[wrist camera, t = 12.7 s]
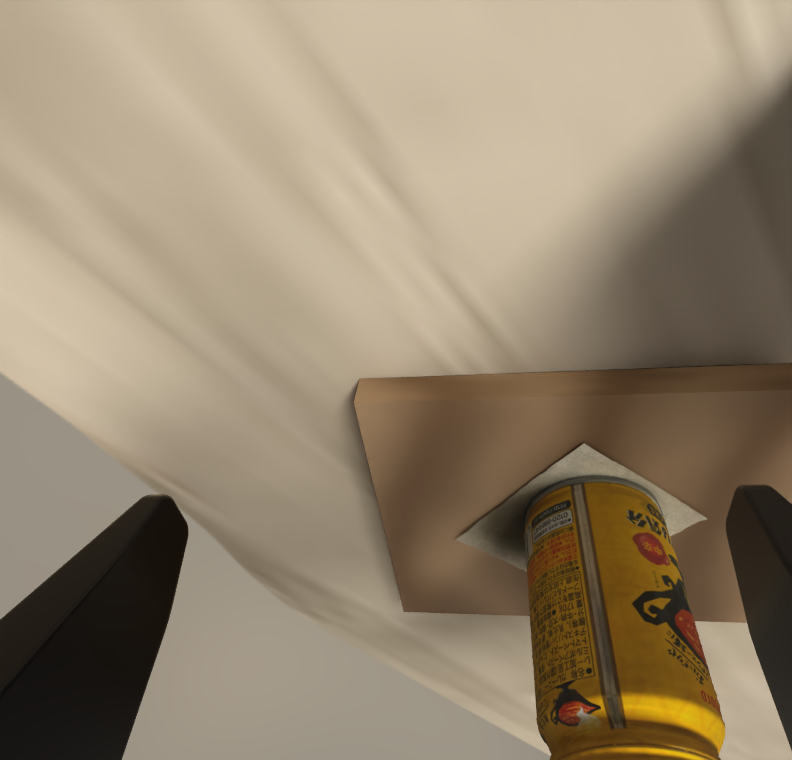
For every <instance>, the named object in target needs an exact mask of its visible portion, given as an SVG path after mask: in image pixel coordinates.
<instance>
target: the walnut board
mask: <svg viewBox="0 0 792 760" xmlns="http://www.w3.org/2000/svg"><path fill="white" fill-rule="evenodd" d="M354 406H355V410H356V414H357V418H358V422H359V427H360V431H361V435H362V439H363V443H364V447H365V452H366V456H367V460H368V464H369V468H370V472H371V477H372V481H373V485H374V489H375V493H376V497H377V502H378V506H379V510H380V514H381V518H382V522H383V527H384V531H385V535H386V539H387V543H388V547H389V551H390V556H391V560H392V564H393V568H394V572H395V576H396V581H397V585H398V589H399V593H400V597H401V601H402V606H403V610H404V612H429V613H460V614H491V615H522V616H530V611H529V596H528V580H527V572H526V571H525V570H523V569H519V568H517V567H515V566H513V565H511V564H509V563H507V562H506V561H504V560H501V559H499V558H497V557H494V556H492V555H490V554H488V553H486V552H484V551H482V550H479V549H477V548H475V547H474V546H469V545H466V544H464V543H462V542H460V541H457V540H456V539H457V538H459V537H460V536H461V535H463V534H464V533H466V532H468V531H469V530H470V529H471V528H472V527H473V526H474V525H475V524H476V523H477V522H479V521H480V520H481V519H482V518H484V517H485V516H487V515H489V514H490V513H491V512H492V511H494V510H495V509H497V508H499V507H501V506H502V505H503V504H504V503H505V502H506V501H507V500H508V499H509V498H510V497H511V496H514V495H515V494H516V493H517V492H518V491H519V490H520V489H521V488H523V487H524V486H527V485H528V483H529V482H530V481H532V480H533V479H535V478H536V477H537V476H539V475H540V474H542V473H544V472H546V471H547V470H548V469H549V468H550V467H551V466H552V465H554V464H555V463H557V462H558V461H560V460H561V459H563V458H564V457H566V456H567V455H568V454H570V453H571V452H573V451H574V450H576V449H577V448H579V447H580V446H581V445H582V444H586V445H588V446H589V447H591V448H592V449H594V450H595V451H597V452H599V453H600V454H602V455H604V456H605V457H607V458H609V459H610V460H611V461H615V462H617V463H618V464H620V465H622V466H624V467H626V468H627V469H629V470H631V471H632V472H634V473H635V474H637V475H639V476H641V477H642V478H644V479H645V480H647V481H649V482H651V483H653V484H654V485H656V486H657V487H659V488H660V489H662V490H663V491H665V492H667V493H669V494H670V495H672V496H673V497H675V498H677V499H678V500H679V501H680V502H682V503H684V504H686V505H687V506H689V507H690V508H691V509H693V510H695V511H696V512H698V513H699V514H701V515H703V516H704V517H706V518H707V520H702V521H699V522H697V523H695V524H693V525H691V526H689V527H687V528H685V529H684V530H683V531H681V532H679V533H677V534H674V535H672V536H670V537H671V541H672V546H673V549H674V551H675V554H676V557H677V560H678V566H679V570H680V571H681V573H682V576H683V581H684V585H685V589H686V592H687V598H688V601H689V605H690V609H691V612H692V615H693V617H694V621H710V622H742V623H746V621H747V620H746V616H745V612H744V607H743V603H742V599H741V595H740V590H739V586H738V582H737V578H736V573H735V569H734V565H733V561H732V556H731V552H730V548H729V544H728V539H727V535H726V518H727V515H728V512H729V508H730V505H731V502H732V499H733V495H734V492H735V490H736V488H737V487H738V486H740V485H768V486H771V487H773V488H774V489H775V490H777V491H778V492H779V493H780V494H781V495H782V496H783V497H785V498H786V499H787V500H788V501H789V502H790V503H792V363H790V364H762V365H735V366H707V367H679V368H652V369H624V370H596V371H568V372H541V373H513V374H485V375H457V376H430V377H402V378H374V379H359V383H358V387H357V391H356V395H355V400H354Z"/></svg>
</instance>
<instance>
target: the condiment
mask: <svg viewBox="0 0 792 760" xmlns="http://www.w3.org/2000/svg"><path fill="white" fill-rule="evenodd" d="M702 520H707V518H706V517H704V516H703V515H701V514H699V513H698V512H696V511H695V510H693V509H691V508H690V507H689V506H687V505H686V504H684V503H682V502H680V501H679V500H678V499H677V498H675V497H673V496H672V495H670V494H669V493H667V492H665V491H663V490H662V489H660V488H659V487H657V486H656V485H654V484H653V483H651V482H649V481H647V480H645V479H644V478H642V477H641V476H639V475H637V474H635V473H634V472H632V471H631V470H629V469H627V468H626V467H624V466H622V465H620V464H618V463H617V462H615V461H611V460H610V459H609V458H607V457H605V456H604V455H602V454H600V453H599V452H597V451H595V450H594V449H592V448H591V447H589V446H588V445H586V444H582V445H581V446H580V447H579V448H577V449H576V450H574V451H573V452H571V453H570V454H568V455H567V456H566V457H564V458H563V459H561V460H560V461H558V462H557V463H555V464H554V465H552V466H551V467H550V468H549V469H548V470H547V471H546V472H544V473H542V474H540V475H539V476H537V477H536V478H535V479H533V480H532V481H530V482H529V483H528V485H527V486H524V487H523V488H521V489H520V490H519V491H518V492H517V493H516V494H515V495H514V496H511V497H510V498H509V499H508V500H507V501H506V502H505V503H504V504H503V505H502V506H501V507H499V508H497V509H495V510H494V511H492V512H491V513H490V514H489V515H487V516H485V517H484V518H482V519H481V520H480V521H479V522H477V523H476V524H475V525H474V526H473V527H472V528H471V529H470V530H469V531H468V532H466V533H464V534H463V535H461V536H460V537H459V538H457V539H456V540H457V541H460V542H462V543H464V544H466V545H469V546H474V547H475V548H477V549H479V550H482V551H484V552H486V553H488V554H490V555H492V556H494V557H497V558H499V559H501V560H504V561H506V562H507V563H509V564H511V565H513V566H515V567H517V568H519V569H523V570H525V571H526V572H527V580H528V596H529V611H530V625H531V640H532V652H533V655H532V658H533V666H534V680H535V696H536V710H537V725H538V729H539V732H540V735H541V737H542V738H543V740H544V742H545V743H546V744H547V745H548V747H549V750H550V752H551V754H552V755H551V757H550V760H721V759H720V758H719V757H718V756H719V752H720V749H721V747H722V744H723V741H724V737H725V724H724V722H723V719H722V715H721V712H720V705H719V702H718V700H717V694H716V692H715V690H714V687H713V684H712V680H711V677H710V674H709V670H708V666H707V664H706V659H705V656H704V653H703V649H702V645H701V643H700V640H699V635H698V632H697V629H696V625H695V621H694V617H693V615H692V612H691V609H690V605H689V601H688V598H687V592H686V589H685V585H684V581H683V576H682V573H681V571H680V570H679V566H678V560H677V557H676V554H675V551H674V549H673V546H672V541H671V537H670V536H672V535H674V534H677V533H679V532H681V531H683V530H684V529H685V528H687V527H689V526H691V525H693V524H695V523H697V522H699V521H702Z"/></svg>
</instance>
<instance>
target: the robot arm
mask: <svg viewBox="0 0 792 760" xmlns="http://www.w3.org/2000/svg"><path fill="white" fill-rule="evenodd" d="M726 535H727V539H728V544H729V548H730V552H731V556H732V561H733V565H734V569H735V573H736V578H737V582H738V586H739V590H740V595H741V599H742V603H743V607H744V612H745V616H746V620H747V624H748V628H749V631H750V635H751V638H752V641H753V644H754V647H755V650H756V653H757V656H758V659H759V661H760V664H761V667H762V670H763V672H764V675H765V678H766V681H767V683H768V686H769V689H770V692H771V694H772V697H773V700H774V703H775V706H776V708H777V711H778V714H779V717H780V719H781V722H782V725H783V728H784V730H785V733H786V736H787V739H788V741H789V744H790V747H791V750H792V503H790V502H789V501H788V500H787V499H786V498H785V497H783V496H782V495H781V494H780V493H779V492H778V491H777V490H775V489H774V488H773V487H771V486H768V485H740V486H738V487H737V488H736V490H735V492H734V495H733V499H732V502H731V505H730V508H729V512H728V515H727V518H726ZM187 539H188V525H187V522H186V520H185V519H184V517H183V515H182V514H181V512H180V510H179V509H178V507H177V505H176V504H175V502H174V500H173V499H172V498H171V497H170V496H168V495H147V496H145V497H142V498H141V499H140V500H139V501H137V502H136V503H135V504H134V505H133V506H132V507H130V508H129V509H128V510H127V511H126V512H125V513H123V514H122V515H121V516H120V517H119V518H118V519H116V520H115V521H114V522H113V523H112V524H111V525H110V526H108V527H107V528H106V529H105V530H104V531H103V532H101V533H100V534H99V535H98V536H97V537H96V538H95V539H93V540H92V541H91V542H90V543H89V544H87V545H86V546H85V547H84V548H83V549H82V550H80V551H79V552H78V553H77V554H76V555H75V556H73V557H72V558H71V559H70V560H69V561H68V562H67V563H65V564H64V565H63V566H62V567H61V568H60V569H58V570H57V571H56V572H55V573H54V574H53V575H51V576H50V577H49V578H48V579H47V580H46V581H45V582H43V583H42V584H41V585H40V586H39V587H37V589H35V590H34V591H33V592H32V593H31V594H29V595H28V596H27V597H26V598H25V599H24V600H23V601H21V603H19V604H18V605H17V606H15V607H14V608H13V609H12V610H11V611H10V612H8V613H7V614H6V615H5V616H4V617H3V618H2V619H0V760H122V757H123V754H124V751H125V748H126V745H127V742H128V739H129V737H130V733H131V731H132V728H133V725H134V722H135V719H136V716H137V713H138V710H139V706H140V704H141V701H142V698H143V695H144V692H145V689H146V686H147V683H148V680H149V677H150V674H151V671H152V669H153V666H154V663H155V660H156V657H157V654H158V651H159V648H160V645H161V642H162V639H163V636H164V633H165V630H166V627H167V623H168V620H169V617H170V613H171V609H172V605H173V601H174V596H175V592H176V588H177V583H178V578H179V574H180V569H181V566H182V561H183V557H184V552H185V548H186V544H187Z"/></svg>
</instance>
